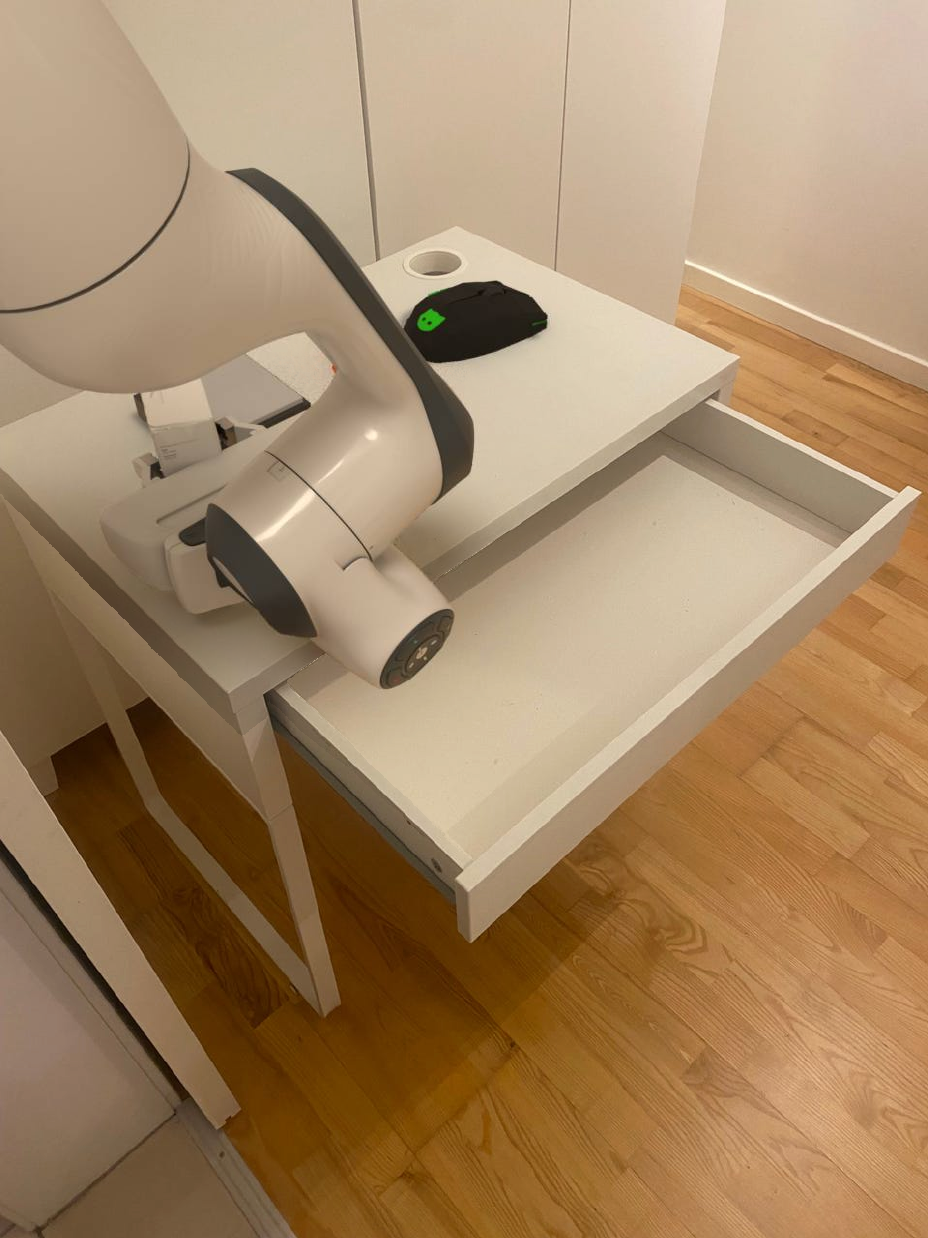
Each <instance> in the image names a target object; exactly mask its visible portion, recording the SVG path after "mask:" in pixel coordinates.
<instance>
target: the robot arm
mask: <svg viewBox="0 0 928 1238" xmlns="http://www.w3.org/2000/svg"><path fill="white" fill-rule="evenodd" d="M403 328H404V327H403V326H402V325H401V323H400V322H399V321H398V319H397V317H395V315H394V313H393V312H392V310H391V309H390V308H389V306H388V305H387V303H386V302H385V301H384V299H383V298H382V296H381V295H380V293H379V292H378V290H377V289H376V287H375V286H374V285H373V283H372V282H371V281H370V279H369V278H368V277H367V275H366V273H365V272H364V271H363V269H362V268H361V267H360V265H359V264H358V262H356V260H355V259H354V258H353V256H352V255H351V254H350V252H349V251H348V249H347V248H346V247H345V246H344V244H343V243H342V241H340V240H339V238H338V237H337V236H336V234H335V233H334V232H333V231H332V229H331V228H330V227H329V226H328V224H327V223H326V222H325V221H324V219H322V218H321V217H320V216H319V215H318V214H317V212H315V211H314V209H313V208H311V207H310V206H309V205H308V204H307V203H306V201H304V200H303V199H302V198H301V197H300V196H299V195H298V194H296V193H295V192H293V191H292V190H291V189H289V188H288V187H287V186H286V185H284V184H283V183H281V182H280V181H278V179H275V178H274V177H272V176H270V175H269V174H267V173H265V172H264V171H262V170H261V169H258V168H256V167H246V168H239V169H232V170H231V169H230V170H225V171H223V170H220V169H219V168H217V167H215V166H214V165H212V164H211V163H210V162H208V161H207V160H206V159H205V158H204V157H203V156H202V154H200V152H199V151H198V150H197V149H196V148H195V146H194V145H193V143H192V142H191V141H190V138H189V136H188V135H187V134H186V132H185V130H184V128H183V126H182V125H181V122H179V120H178V118H177V116H176V114H175V113H174V111H173V109H172V107H171V106H170V104H169V102H168V101H167V99H166V97H165V95H164V93H163V92H162V90H161V88H160V87H159V85H158V83H157V82H156V80H155V78H154V77H153V75H152V74H151V72H150V71H149V69H148V67H147V66H146V65H145V64H144V62H143V60H142V58H141V57H140V55H139V53H138V52H137V50H136V49H135V47H134V46H133V44H132V43H131V41H130V40H129V38H128V37H127V35H126V34H125V32H124V31H123V29H122V28H121V26H120V25H119V24H118V22H117V21H116V20H115V18H114V17H113V15H112V13H111V12H110V11H109V9H108V8H107V6H106V5H105V4H104V2H103V1H102V0H0V346H2V347H3V348H4V349H5V350H7V351H8V352H9V353H10V354H11V355H13V356H14V357H15V358H17V359H18V360H20V361H21V362H22V363H23V364H25V365H26V366H28V367H29V368H31V370H34V371H35V372H36V373H38V374H39V375H40V376H42V377H44V378H46V379H48V380H51V381H53V382H55V383H57V384H60V385H63V386H66V387H68V388H72V389H76V390H81V391H86V392H92V393H97V394H98V393H99V394H111V395H130V394H132V395H133V394H138V393H146V392H154V391H160V390H165V389H169V388H173V387H177V386H180V385H183V384H186V383H189V382H191V381H194V380H196V379H199V378H201V377H203V376H205V375H207V374H209V373H211V372H212V371H214V370H216V369H218V368H219V367H221V366H223V365H225V364H227V363H228V362H230V361H232V360H234V359H236V358H238V357H240V356H241V355H243V354H246V355H247V353H250V352H252V351H254V350H256V349H258V348H261V347H262V346H265V345H268V344H270V343H272V342H275V341H278V340H281V339H283V338H286V337H290V336H293V335H297V334H302V333H305V335H306V336H307V337H308V338H309V339H310V340H311V342H313V343H314V344H315V346H316V347H317V348H318V349H319V351H320V352H321V353H322V354H323V355H324V356H325V357H326V359H327V360H328V361H329V362H330V363H331V364H332V366H333V365H334V366H335V367H336V368H337V371H336V373H335V372H334V376H333V378H332V380H331V381H330V383H329V384H328V386H327V388H326V389H325V390H324V391H323V393H322V394H321V396H319V398H318V399H317V400H316V401H315V402H314V403H313V404H311V407H310V408H309V409H308V410H305V411H303V412H301V413H299V414H297V415H295V416H293V417H290V418H288V419H286V420H284V421H282V422H280V423H278V424H276V425H274V426H272V427H270V428H268V429H266V428H265V427H264V426H262V425H256V424H249V423H243V422H241V423H239V422H238V421H237V420H236V419H234V418H233V417H232V416H231V415H228V416H226V417H224V418H222V419H220V420H218V421H215V425H216V429H217V433H218V437H219V440H220V441H223V442H224V444H225V445H226V446H228V448H226V449H224V450H222V451H221V454H220V455H217V456H214V457H210V458H207V459H204V460H201V461H199V462H197V463H195V464H193V465H191V466H189V467H187V468H185V469H182V470H180V471H178V472H176V473H174V474H172V475H170V476H168V477H166V478H164V477H163V474H162V470H161V467H160V464H159V460H158V457H156V456H153V453H152V452H150V451H148V452H146V453H144V454H141V455H140V456H137V457H135V458H133V459H132V464H133V467H134V471H135V473H136V475H137V477H138V478H139V479H140V484H141V487H142V488H140V489H138V490H137V491H135V492H133V493H131V494H129V495H126V496H125V497H123V498H122V497H121V498H120V499H119V500H116V501H114V502H112V503H110V504H107V505H106V506H104V507H103V508H102V510H101V513H100V516H99V517H100V518H99V524H100V528H101V531H102V534H103V537H104V540H105V542H106V545H107V546H108V548H109V551H110V552H111V553H112V554H113V555H114V557H116V558H117V560H118V561H120V562H121V563H122V564H123V565H124V566H125V568H127V569H128V570H130V571H131V572H132V573H133V574H134V575H135V576H137V577H138V578H139V579H141V580H142V581H144V582H145V583H147V584H148V585H150V586H151V587H153V588H154V589H157V590H159V591H164V592H175V595H176V596H177V599H178V600H179V602H180V604H181V606H182V607H183V608H184V610H185V611H187V612H188V613H190V614H192V615H193V614H194V615H195V614H196V615H197V614H202V613H206V612H209V611H213V610H216V609H220V608H223V607H224V608H225V607H226V606H232V605H235V604H240V603H244V602H247V603H248V604H250V605H251V606H252V607H253V608H254V609H255V610H257V612H258V613H259V614H260V616H261V617H262V618H263V619H264V621H265V622H266V623H267V624H268V625H269V626H270V627H271V629H273V630H274V631H276V632H277V634H280V635H283V636H290V637H297V638H303V639H305V638H307V639H309V640H310V641H311V642H313V643H314V644H315V645H316V646H317V647H318V648H319V649H321V650H322V651H323V652H324V653H325V654H327V655H328V656H329V657H330V658H332V659H333V660H334V661H335V662H337V663H338V664H340V666H342V667H344V668H345V669H346V670H348V671H350V672H351V673H353V675H355V676H356V677H358V678H359V679H361V680H363V681H365V682H366V683H368V684H370V685H371V686H373V687H374V688H377V689H379V690H390V689H393V688H396V687H398V686H401V685H403V684H405V683H406V682H408V681H410V680H412V679H413V678H414V677H415V676H416V675H417V674H418V673H419V672H420V671H421V670H423V669H424V667H426V665H428V664H429V663H430V662H431V660H432V659H433V658H434V657H435V656H437V653H439V651H440V650H441V649H442V648H443V646H444V644H445V643H446V641H447V640H448V638H449V636H450V635H451V631H452V628H453V626H454V625H453V624H454V622H455V609H454V607H453V606H452V604H451V603H450V601H449V600H448V599H447V597H446V596H445V595H444V594H443V592H441V591H440V589H439V588H438V587H437V586H436V585H435V584H434V583H433V581H431V579H430V578H429V577H428V576H427V575H426V574H425V573H424V572H423V571H422V570H421V569H420V568H419V567H418V566H417V565H416V564H415V563H414V562H413V561H412V560H411V559H409V557H407V556H406V555H405V554H404V553H403V552H402V551H401V550H400V549H399V548H397V546H395V545H394V544H393V543H394V542H395V541H396V540H397V539H398V538H399V537H400V536H401V535H402V534H403V533H404V532H405V531H406V530H407V529H408V528H409V527H410V526H411V525H412V524H414V522H415V521H417V519H418V518H419V517H420V516H421V515H422V514H423V513H424V512H425V511H426V510H427V509H428V508H429V507H431V506H433V505H435V504H436V503H437V502H438V501H440V500H441V499H442V498H443V497H444V496H446V495H447V494H448V493H450V491H452V490H453V489H454V488H456V486H458V485H459V483H461V482H462V481H463V480H464V479H466V478H467V477H468V476H469V475H470V473H471V472H472V468H473V460H474V453H475V451H474V450H475V426H474V420H473V418H472V416H471V414H470V412H469V410H467V408H466V407H465V404H464V403H463V402H462V400H461V398H460V396H459V395H458V394H457V393H456V392H455V390H454V389H453V387H451V386H450V384H448V382H447V381H445V380H444V378H442V377H441V375H440V374H438V373H437V372H436V370H435V369H434V368H433V367H432V366H431V364H430V363H429V361H426V360H425V359H424V357H423V356H422V355H421V353H420V352H419V350H418V349H417V348H416V346H415V345H414V343H413V342H412V341H411V339H410V338H409V336H408V335H407V333H406V332H405V331H404V329H403Z"/></svg>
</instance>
